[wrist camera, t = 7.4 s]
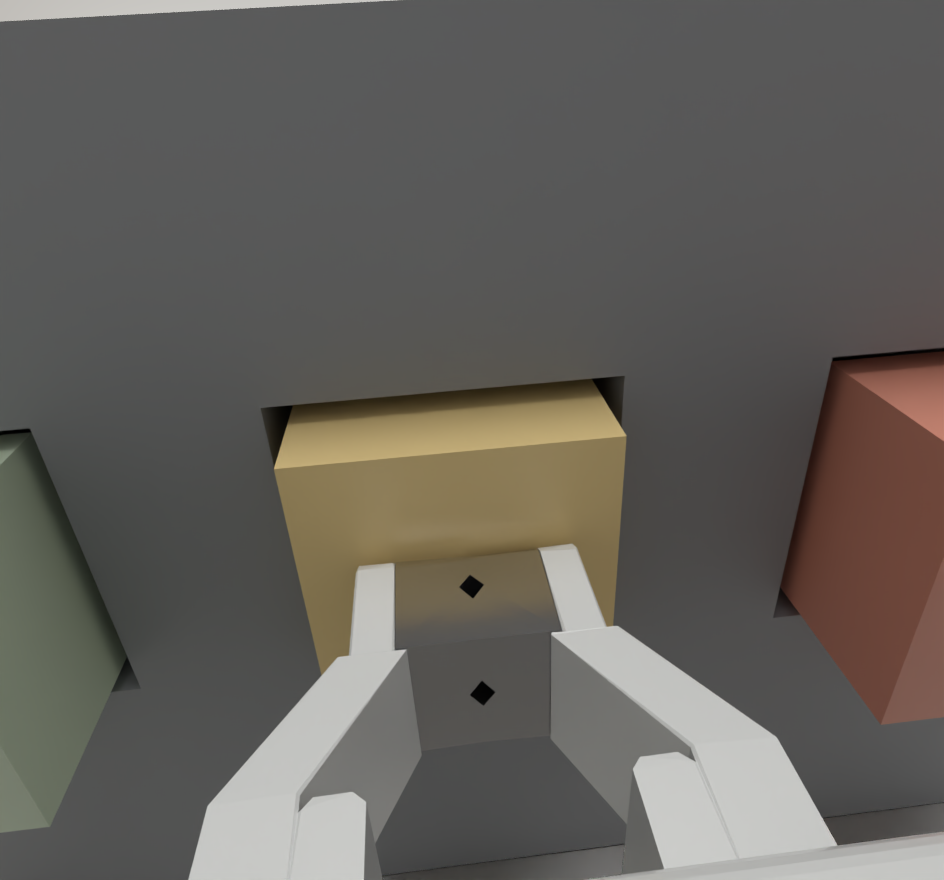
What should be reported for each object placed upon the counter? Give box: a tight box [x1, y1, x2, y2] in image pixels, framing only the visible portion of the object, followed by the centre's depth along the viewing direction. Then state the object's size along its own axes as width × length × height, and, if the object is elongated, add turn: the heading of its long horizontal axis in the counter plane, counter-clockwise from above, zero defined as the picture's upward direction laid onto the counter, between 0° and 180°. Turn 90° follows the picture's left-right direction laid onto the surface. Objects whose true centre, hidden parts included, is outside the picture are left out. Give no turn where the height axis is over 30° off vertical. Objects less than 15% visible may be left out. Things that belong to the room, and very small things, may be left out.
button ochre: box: [274, 379, 627, 675], centre depth 11 cm, size 3×4×4 cm
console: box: [0, 0, 944, 880], centre depth 14 cm, size 8×24×16 cm, turn 95°
